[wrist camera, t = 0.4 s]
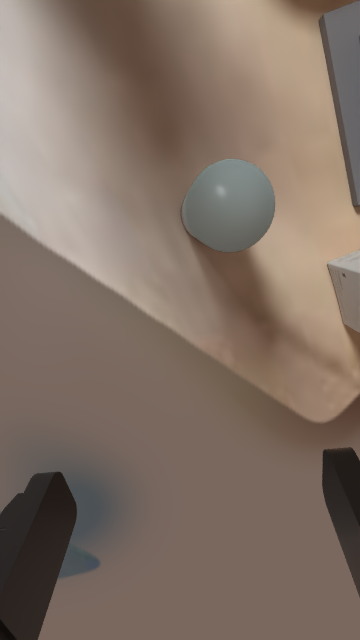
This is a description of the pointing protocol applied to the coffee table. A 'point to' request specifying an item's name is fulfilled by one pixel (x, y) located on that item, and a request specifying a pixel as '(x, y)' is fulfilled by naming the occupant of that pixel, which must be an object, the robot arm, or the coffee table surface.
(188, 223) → the peg
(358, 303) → the supplement box
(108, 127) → the coffee table surface
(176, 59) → the coffee table surface
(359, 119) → the socket block
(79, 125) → the coffee table surface
